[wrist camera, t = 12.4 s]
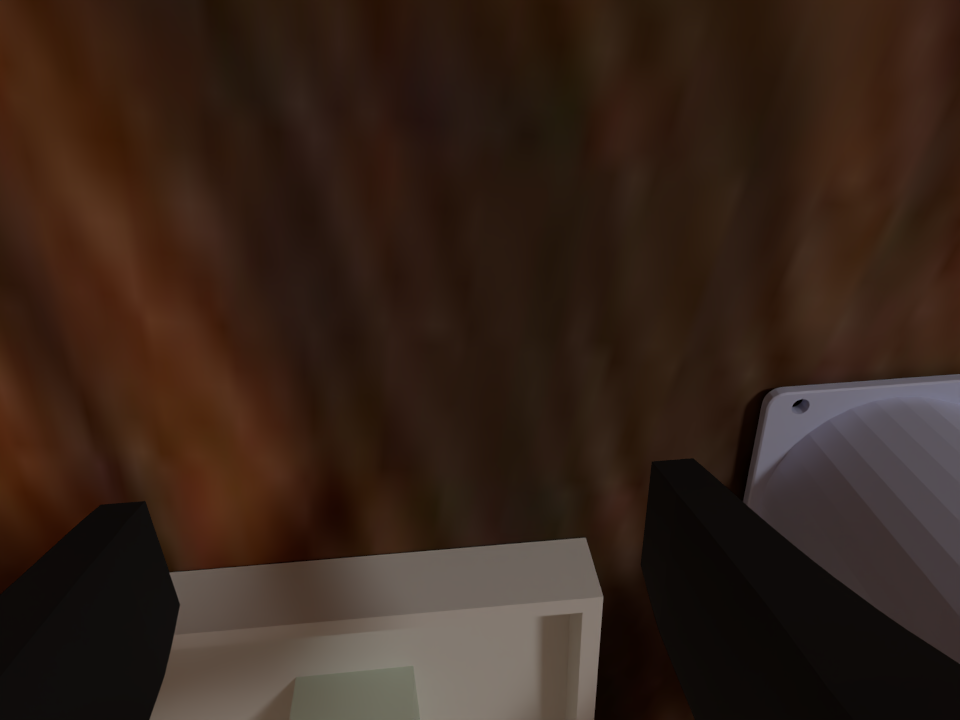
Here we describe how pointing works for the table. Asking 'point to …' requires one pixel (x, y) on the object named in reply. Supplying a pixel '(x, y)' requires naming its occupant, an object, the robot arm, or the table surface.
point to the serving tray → (393, 632)
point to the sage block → (357, 696)
